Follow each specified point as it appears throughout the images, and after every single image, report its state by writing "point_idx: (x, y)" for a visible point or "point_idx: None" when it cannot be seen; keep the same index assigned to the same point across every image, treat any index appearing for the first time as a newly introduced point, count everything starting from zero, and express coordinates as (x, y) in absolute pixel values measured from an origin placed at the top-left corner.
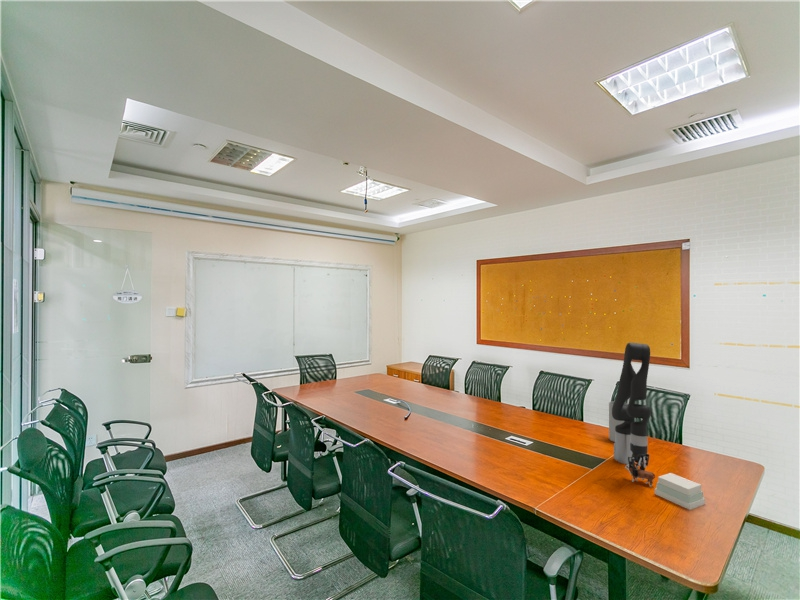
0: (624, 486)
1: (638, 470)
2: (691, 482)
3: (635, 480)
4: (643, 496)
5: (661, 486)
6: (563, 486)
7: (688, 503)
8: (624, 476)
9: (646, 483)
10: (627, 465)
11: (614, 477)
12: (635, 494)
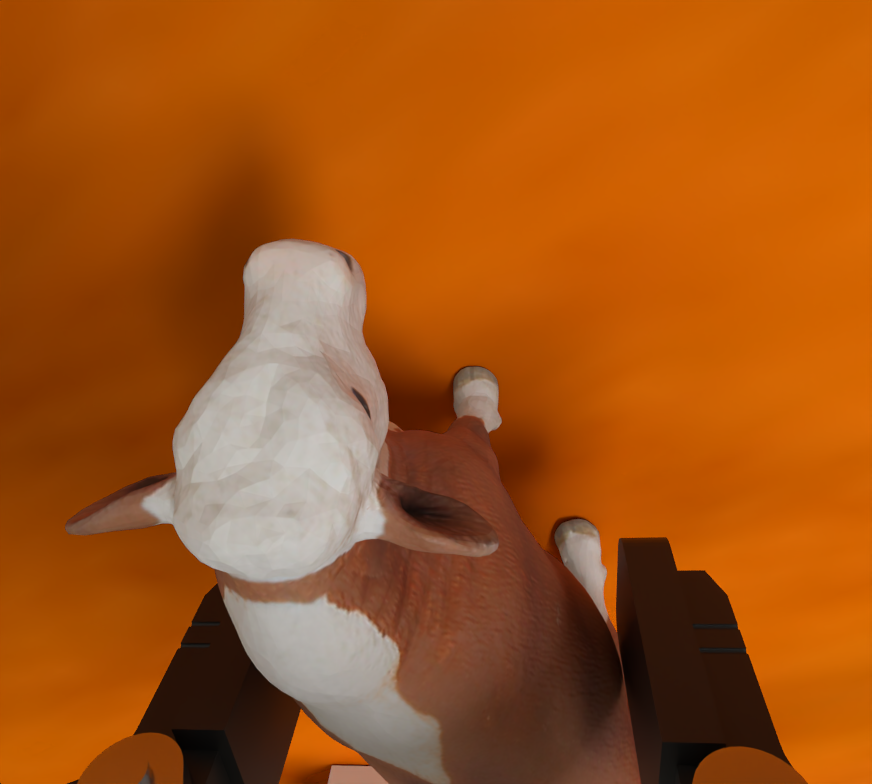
0: (11, 449)
1: (374, 760)
2: None
3: (456, 396)
4: (111, 731)
5: None
6: None
7: None
8: (422, 73)
9: (564, 559)
10: (179, 496)
11: (57, 15)
12: (25, 666)
